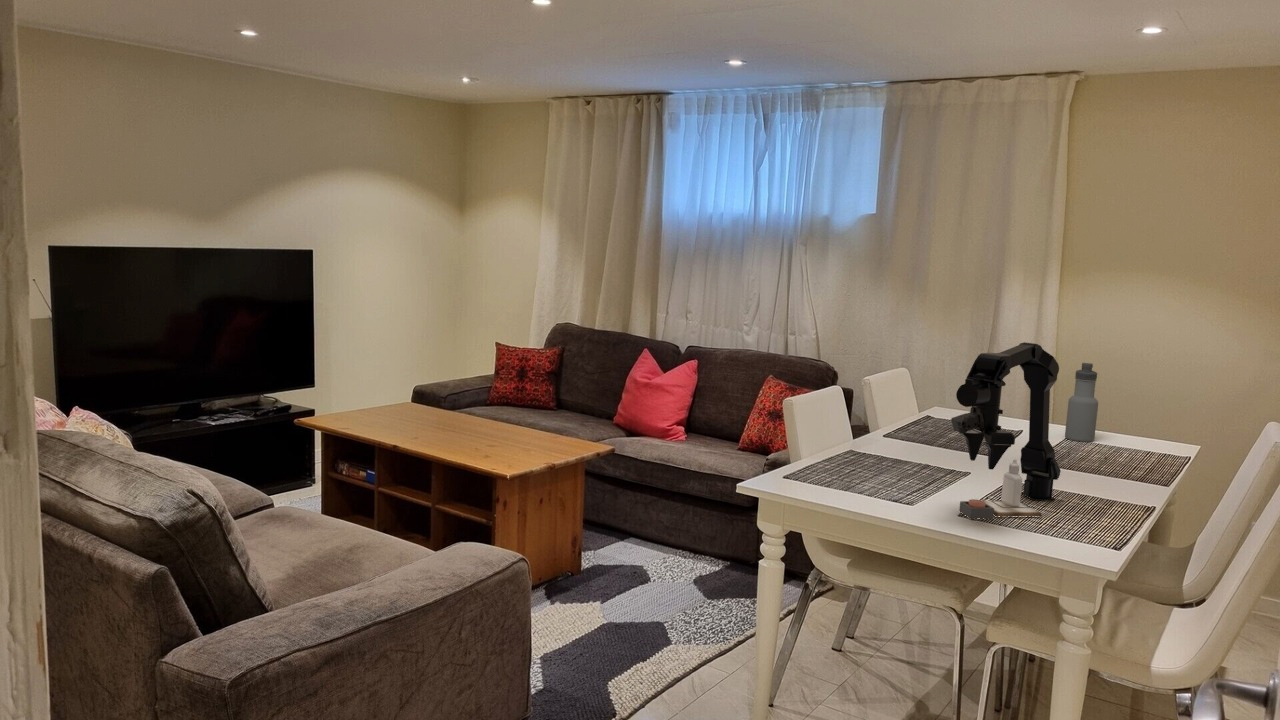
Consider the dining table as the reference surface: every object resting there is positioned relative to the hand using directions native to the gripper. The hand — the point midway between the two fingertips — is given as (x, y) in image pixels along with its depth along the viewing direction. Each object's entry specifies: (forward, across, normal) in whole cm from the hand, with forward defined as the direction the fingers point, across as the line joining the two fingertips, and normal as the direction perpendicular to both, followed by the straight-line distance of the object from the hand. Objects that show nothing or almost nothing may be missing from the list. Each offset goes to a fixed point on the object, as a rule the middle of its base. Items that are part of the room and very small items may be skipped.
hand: (981, 464), depth 232 cm
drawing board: (+13, -4, +11) cm, 18 cm away
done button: (+12, 0, 0) cm, 12 cm away
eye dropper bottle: (+12, -6, +12) cm, 18 cm away
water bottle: (+12, -90, +88) cm, 127 cm away
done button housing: (+13, 0, 0) cm, 13 cm away
